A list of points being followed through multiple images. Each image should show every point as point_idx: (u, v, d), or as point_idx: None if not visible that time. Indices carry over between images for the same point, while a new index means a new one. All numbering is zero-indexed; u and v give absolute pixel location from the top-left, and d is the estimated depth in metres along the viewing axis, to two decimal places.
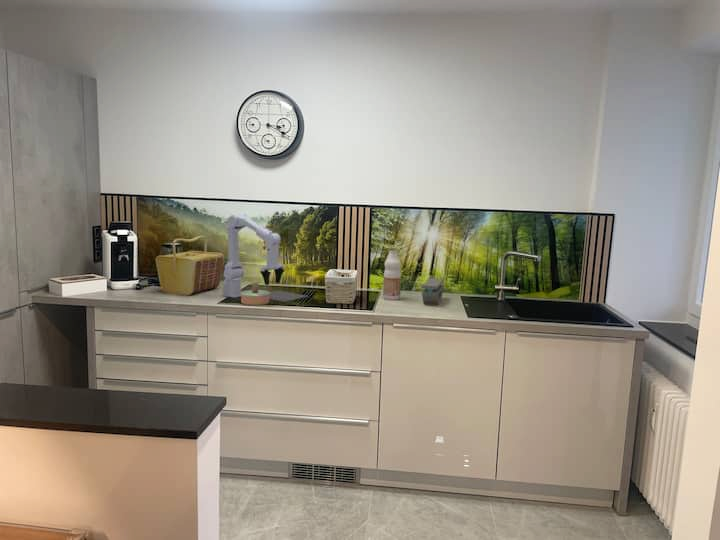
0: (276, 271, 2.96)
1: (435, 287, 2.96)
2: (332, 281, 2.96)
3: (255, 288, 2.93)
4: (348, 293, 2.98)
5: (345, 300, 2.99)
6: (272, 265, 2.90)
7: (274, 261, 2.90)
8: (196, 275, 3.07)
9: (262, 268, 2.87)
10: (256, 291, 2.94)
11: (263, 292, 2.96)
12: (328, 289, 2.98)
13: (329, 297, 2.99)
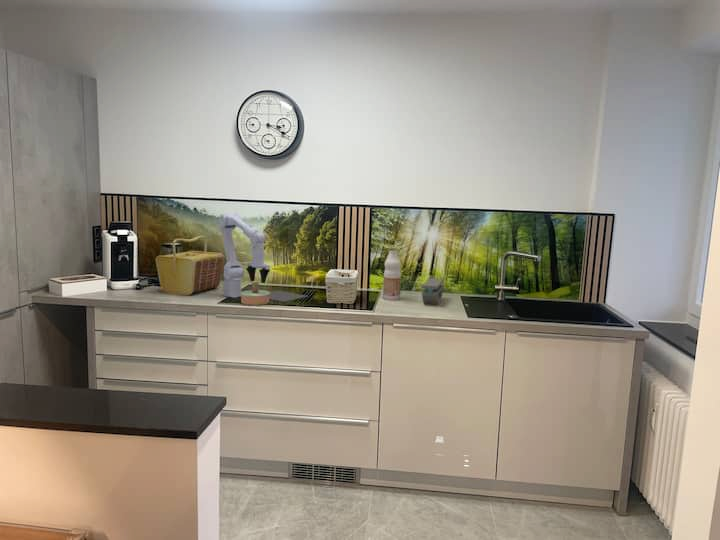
0: None
1: (435, 287, 2.96)
2: (333, 281, 2.96)
3: (255, 288, 2.93)
4: (349, 293, 2.98)
5: (346, 300, 2.99)
6: (252, 262, 2.94)
7: (252, 259, 2.93)
8: (196, 275, 3.07)
9: (247, 263, 2.98)
10: (256, 291, 2.94)
11: (263, 292, 2.96)
12: (329, 289, 2.98)
13: (330, 297, 2.99)
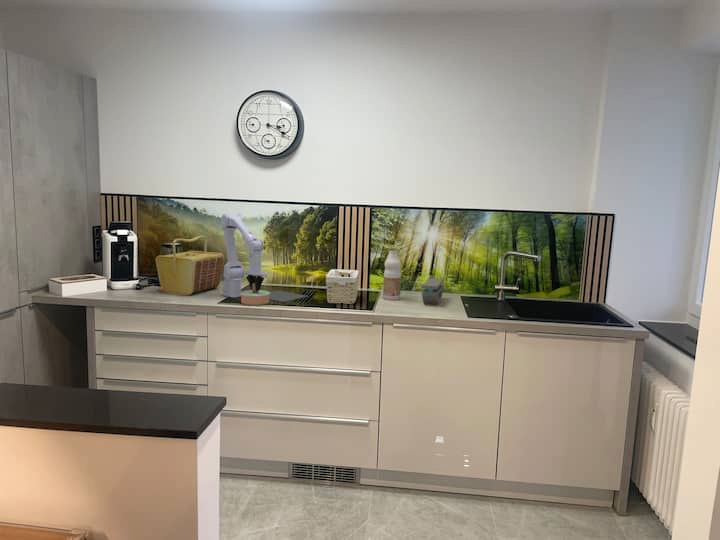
0: None
1: (435, 287, 2.96)
2: (333, 281, 2.96)
3: (255, 288, 2.93)
4: (349, 293, 2.98)
5: (346, 300, 2.99)
6: (249, 271, 2.93)
7: (250, 267, 2.92)
8: (196, 275, 3.07)
9: None
10: (256, 291, 2.94)
11: (263, 292, 2.96)
12: (329, 289, 2.98)
13: (331, 297, 2.99)
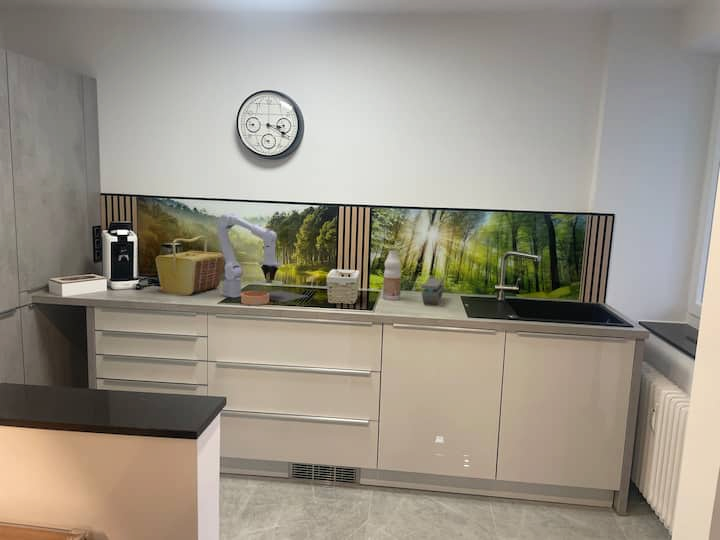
0: None
1: (435, 287, 2.96)
2: (334, 281, 2.97)
3: (269, 278, 3.02)
4: (350, 293, 2.98)
5: (347, 300, 2.99)
6: (264, 261, 3.02)
7: (264, 257, 3.00)
8: (196, 275, 3.07)
9: (259, 261, 3.06)
10: (270, 281, 3.02)
11: (277, 282, 3.05)
12: (330, 289, 2.98)
13: (331, 297, 2.99)
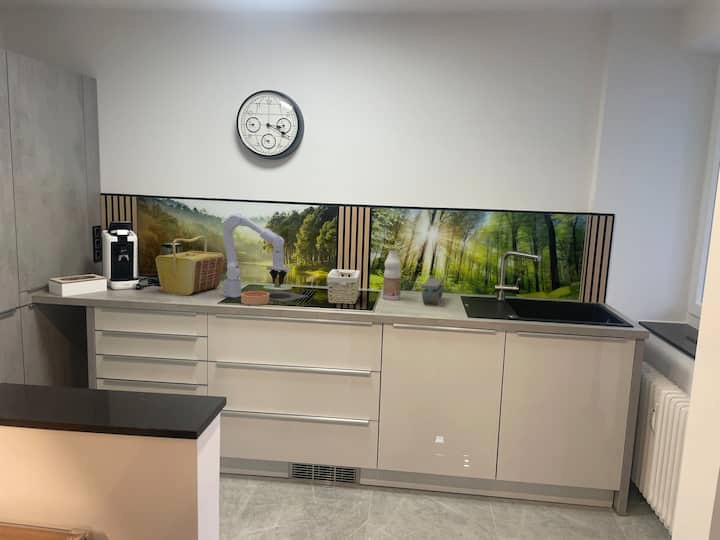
0: None
1: (435, 287, 2.96)
2: (334, 281, 2.97)
3: (278, 282, 3.08)
4: (350, 293, 2.98)
5: (347, 300, 2.99)
6: (272, 266, 3.08)
7: (273, 262, 3.07)
8: (196, 275, 3.07)
9: None
10: (279, 285, 3.09)
11: (285, 286, 3.12)
12: (330, 289, 2.98)
13: (332, 297, 2.99)
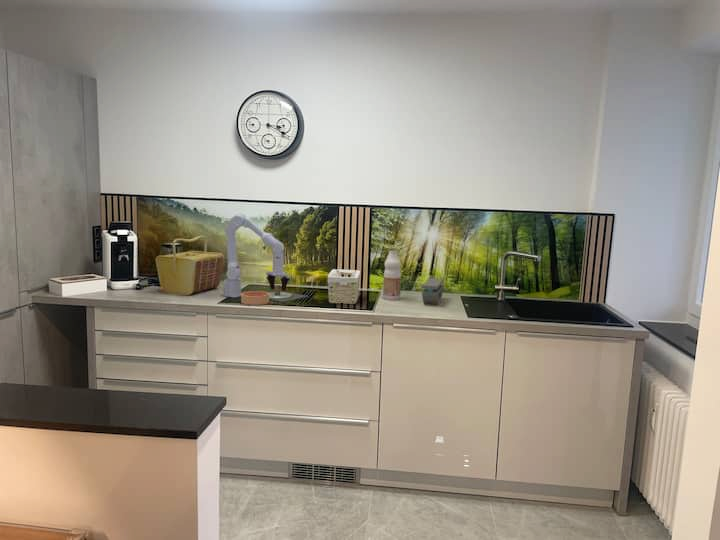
0: None
1: (435, 287, 2.96)
2: (335, 281, 2.97)
3: (278, 290, 3.09)
4: (351, 293, 2.98)
5: (348, 300, 2.99)
6: None
7: (273, 268, 3.07)
8: (196, 275, 3.07)
9: None
10: (278, 293, 3.09)
11: (285, 294, 3.12)
12: (331, 289, 2.98)
13: (332, 297, 2.99)
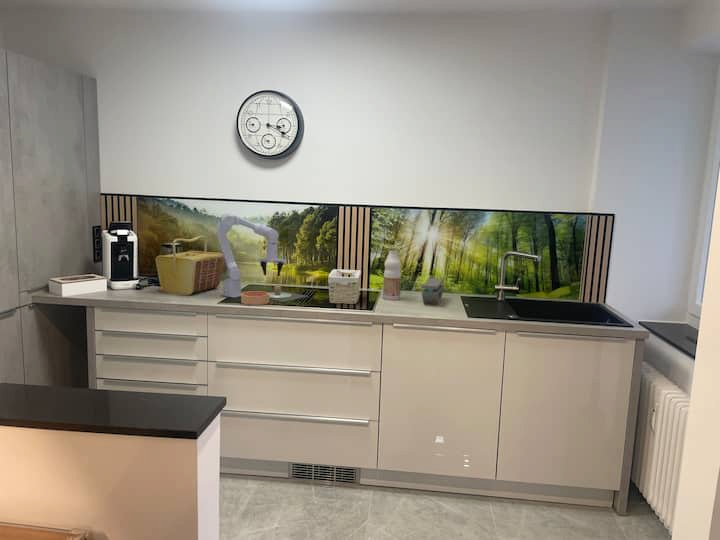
0: None
1: (435, 287, 2.96)
2: (335, 281, 2.97)
3: (278, 290, 3.09)
4: (351, 293, 2.98)
5: (348, 300, 2.99)
6: (267, 258, 3.14)
7: (268, 254, 3.13)
8: (196, 275, 3.07)
9: None
10: (279, 293, 3.09)
11: (284, 294, 3.12)
12: (331, 289, 2.98)
13: (333, 297, 2.99)
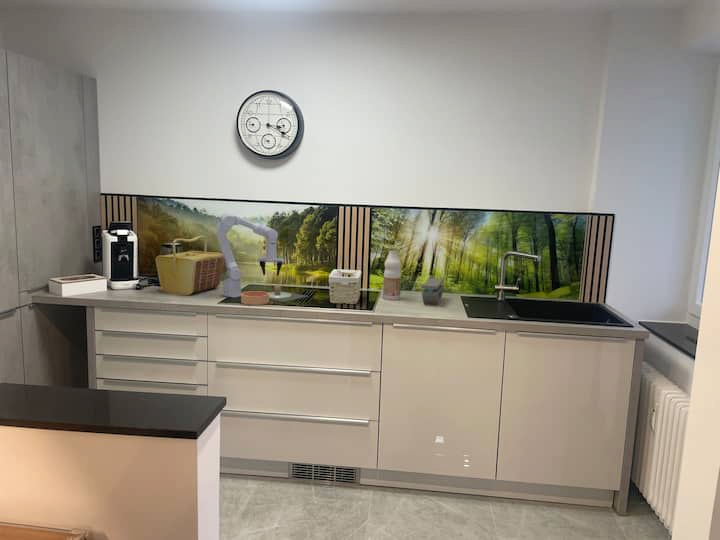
0: None
1: (435, 287, 2.96)
2: (336, 281, 2.97)
3: (278, 290, 3.09)
4: (352, 293, 2.98)
5: (349, 300, 2.99)
6: (266, 257, 3.15)
7: (268, 254, 3.14)
8: (196, 275, 3.07)
9: (258, 259, 3.17)
10: (279, 293, 3.09)
11: (284, 294, 3.12)
12: (332, 289, 2.98)
13: (333, 297, 2.99)
